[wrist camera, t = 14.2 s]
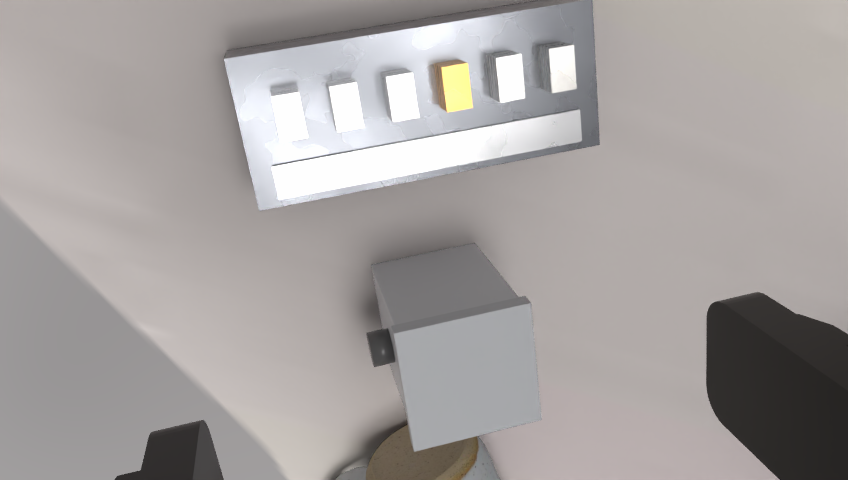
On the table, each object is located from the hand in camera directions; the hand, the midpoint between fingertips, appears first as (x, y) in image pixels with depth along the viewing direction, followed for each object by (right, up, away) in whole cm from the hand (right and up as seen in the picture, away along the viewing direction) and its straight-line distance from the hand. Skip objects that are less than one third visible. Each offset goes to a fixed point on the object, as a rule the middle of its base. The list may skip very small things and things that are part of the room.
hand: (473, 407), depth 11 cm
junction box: (0, -1, +31) cm, 31 cm away
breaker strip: (-2, +10, +26) cm, 28 cm away
